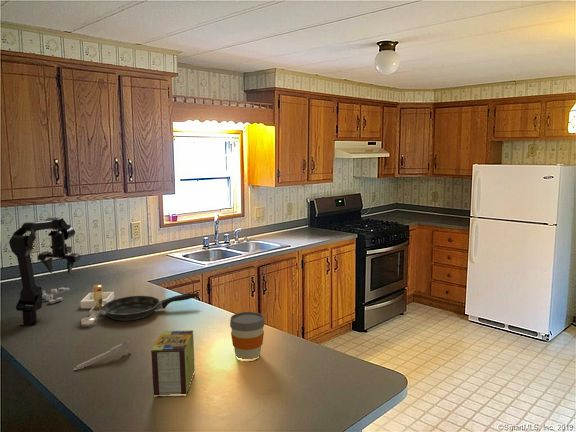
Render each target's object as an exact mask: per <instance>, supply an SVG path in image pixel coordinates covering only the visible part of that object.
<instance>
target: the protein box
mask: <svg viewBox="0 0 576 432" xmlns="http://www.w3.org/2000/svg"><path fill="white" fill-rule="evenodd" d="M157 338H158V339H157V340H156V342H155V343H154V345H153V347H151V349H150V351H151V352H150V354H151V369H152V370H151V371H152V389H153V391H152V392H153V396H154V395H170V394H187V391H188V388H189V385H190V382H191V379H192V376H193V373H194V371H195V372H196V370H195V347H194V345H195V344H194V330H162V331H161V333H160V334H159V337H157ZM191 383H192V382H191ZM190 386H191V385H190ZM189 389H190V388H189ZM188 392H189V391H188ZM187 395H188V394H187Z"/></svg>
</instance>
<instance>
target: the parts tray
mask: <svg viewBox="0 0 576 432" xmlns="http://www.w3.org/2000/svg"><path fill="white" fill-rule="evenodd" d="M102 292H103V306H104V305H105V304H106V303H108V302H110V301H113V300H115V292H114V291H106V292H105V291H102ZM93 307H94V297H93V292H89V293H88V294H86V296H85V297H83V298H82V300H80V309H92V308H93Z"/></svg>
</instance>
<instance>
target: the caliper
mask: <svg viewBox="0 0 576 432" xmlns="http://www.w3.org/2000/svg"><path fill="white" fill-rule="evenodd" d="M126 348H127V351H128V354H129V353H131V354H132V346H131V343H130V341H129V340H128V339H126V338H125V340H122V343H120V344H117V345H116V346H113V347H112V348H110V349H109V350H107V351H106V352H103V353H101V354H99V355H97V356H95V357H93V358H90V359H89V360H86V361H84V362H82V363H79V364H78V365H76V367H74V368H73V369H72V371H74V370H75V371H76V370H78V369H79V370H81V368H82V369H85V368H86V367H89V366H91V365H94V364H95V363H97V362H99V361H101V360H103V359H105V358H108V357H110V356H113V357H114V356H116V355H119V353H122V355H124V356H125V354H126V355H127V352H126ZM84 367H85V368H84Z"/></svg>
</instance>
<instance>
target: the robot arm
mask: <svg viewBox="0 0 576 432" xmlns="http://www.w3.org/2000/svg"><path fill="white" fill-rule="evenodd" d="M43 230H51V231H50V232H49V233H48V234H47V235H48V237H50V241H51V242H50V243H51V245H50V246H49V249H51V250H52V251H42V252H40V253H39V254H38V255H37V260H38V261H40V263H42V264H43V265H44V266H45V267H46V269H47V271H48V272H49V273H50V274H52V273H53V264H52V263H53V262H52V261H53V259H57V260H58V259H59V260H61V259H62V260H66V261H67V262H66V268H67V274H68V275H71V273H72V269H73V267H74V265H75V263H76V262H78V261H79V260H81V254H80V253H75V252H72V249H73V246H67V243H65V241H67V240H69V239H71V238H74V237H75V235H76V230H75V229H74V227H72V226H71V224H68V223H67V222H66V221H65V220H64V218H63V217H48V218H46V219H45V220H41V221H40V220H39V221H31V222H30V221H29V222H25V223H23V224H21V227H20V228H18V229H17V230H15V232H13V234H12V236H11V237H10V239H9V242H8V245H9V247H10V249H11V252H12V253H13V255H15V257H16V258H17V264H18V269H19V275H20V279H21V281H20V282H21V286H22V288H21V290H20V293H19V300H18V302H17V303H16V305H15V309H16V311H17V312H19V311H20V312H21V316H22V322H21V323H19V326H21V327H22V326H35V325H37V324H38V323H39V322H40V321H41V320H42V319H41V318H38V310H40V309H42V307H43V306H42V305H43V300H44V299H43V297H42V295H43V294H42V291H43V289H42V287H41V286H38V285H37V284H36V280H35V279H36V278H35V275H34V270H33V269H34V268H33V264H32V258H31V253H32V251H33V249H34V245H33V244H34V243H35V240H36V239H37V236H36V235H37V234H36V232H38V231H43ZM27 232H30V234H29V235H25V234H26V233H27Z"/></svg>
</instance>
